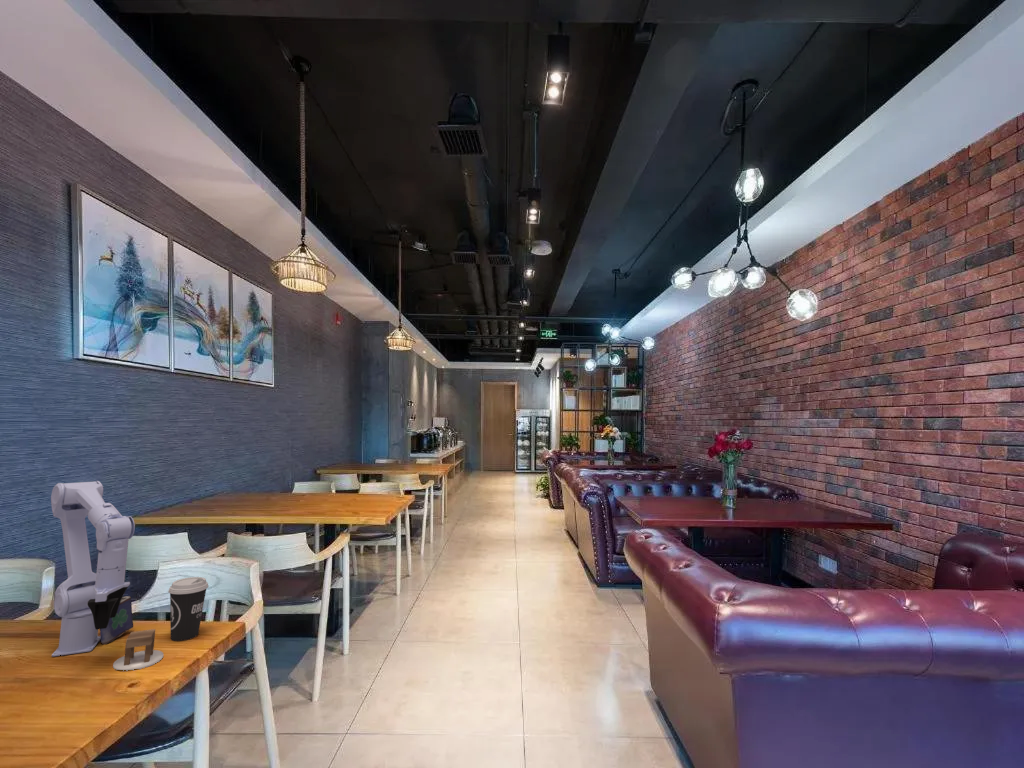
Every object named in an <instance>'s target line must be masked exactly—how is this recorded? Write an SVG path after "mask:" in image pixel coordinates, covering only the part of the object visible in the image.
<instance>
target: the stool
mask: <svg viewBox="0 0 1024 768" xmlns="http://www.w3.org/2000/svg"><path fill="white" fill-rule="evenodd" d="M155 638H156V628H153V629H146V630H138V631H137V630H136V631H131V632H130V634H129V635H128V637H127V638H126V640H125V650H124V651H125V652H124V656H125V658H124V666H125V665H129V664H130V658H133V657H134V653H135V648H137V647H144V646H145V649H144V651H145V657H144V662H149V661H150V655H153V650H155V649H154V648H155Z"/></svg>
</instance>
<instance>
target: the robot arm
mask: <svg viewBox="0 0 1024 768" xmlns="http://www.w3.org/2000/svg"><path fill="white" fill-rule="evenodd" d="M103 494H104V486H103V483H101V481H100V480H94V481H81V482H65V483H62V482H58V483H57V484H55V485H54V486H53V488H52V490H51V496H50V503H51V512H52V514H53V515H52V516H53V517H54V518H57V519H59V520H60V523H61V529H62V540H63V546H64V547H63V548H64V554H65V562H66V563H65V564H66V571H67V572H66V573H67V579H66V580H63V582H62V583H60V584H59V585H58V586H57V588H56V590H55V592H54V603H53V607H54V609H53V610H54V613H55V614H56V615H57V616H58V617H61V621H60V622H61V623H60V633H59V641H58V647H57V648H56V650H54V652H53V653H52V654H51V657H59V656H60V655H61V656H67V655H73V654H74V655H75V654H81V653H86V652H87V653H88V652H89V653H90V652H92V651H93V650H94V649H95V647H96V646H97V644H99V642H101V637H100V635H99V630H100V629H105V628H107V626H108V623H109V620H110V618H113V617H115V616H116V614H117V611H118V608H119V605H120V602H121V599H122V597H124V594H125V593H126V591H127V589H128V588H129V586H130V585H131V582H130V581H125V580H126V579H125V578H126V567H127V561H128V560H127V557H128V550H129V549H128V548H129V540H130V539H132V538H133V536H134V534H135V527H136V525H135V520H134V518H133V516H130V515H122V513H120V511H119V510H118V509H117V507H115V506H114V505H113V504H112V503H111V502H105V500H104V498H103ZM86 517H87V519H88V520H89V522H90V524H92V526H93V527H94V528H95V539H96V550H98V554H97V564H96V572H93V570H92V562H91V555H90V547H89V541H88V533H87V524H86Z"/></svg>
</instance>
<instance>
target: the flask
mask: <svg viewBox="0 0 1024 768" xmlns="http://www.w3.org/2000/svg"><path fill="white" fill-rule="evenodd" d="M132 606H133V605H132V596H130V595H128V596H127V595H126V596H123V597H122V599H121V602H120V605H119V608H118V611H117V614H116V616H115V617H113V618H110V620H109V623H108V626H107V628H105V629H99V636H100V637H101V639H100V643H102V644H101V645H107V644H109V643H112V642H114V640H116V639H117V638H119V637H121V636H122V635H123V634H125V633H126V632H128V631H130V630H131V629H133V628H134V620H133V608H132Z"/></svg>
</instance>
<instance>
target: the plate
mask: <svg viewBox="0 0 1024 768" xmlns="http://www.w3.org/2000/svg"><path fill="white" fill-rule="evenodd" d="M144 657H145V650H141V651H140V650H139V651H136V652H135V651H134V657H133V658H130V664H129V665H125V666H124V658H125V655H123V656H121V657H119V658H117V659H116V660H115V661H114V662H113V664H112V669H113V668H114V669H113V670H115V669H116V670H115V671H117V670H123V671H122V672H129V671H128V670H133V671H135V670H134V669H139V670H143V669H146V668H149V667H151V666H154V665H156V664H157V662H158V663H160V662H161V661H162V660H163V659H162V658H164V652H163V651H162V650H157V649H153V655H150V661H149V662H144ZM160 660H161V661H160ZM155 663H156V664H155ZM145 667H146V668H145ZM142 668H143V669H142ZM124 670H126V671H124Z"/></svg>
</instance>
